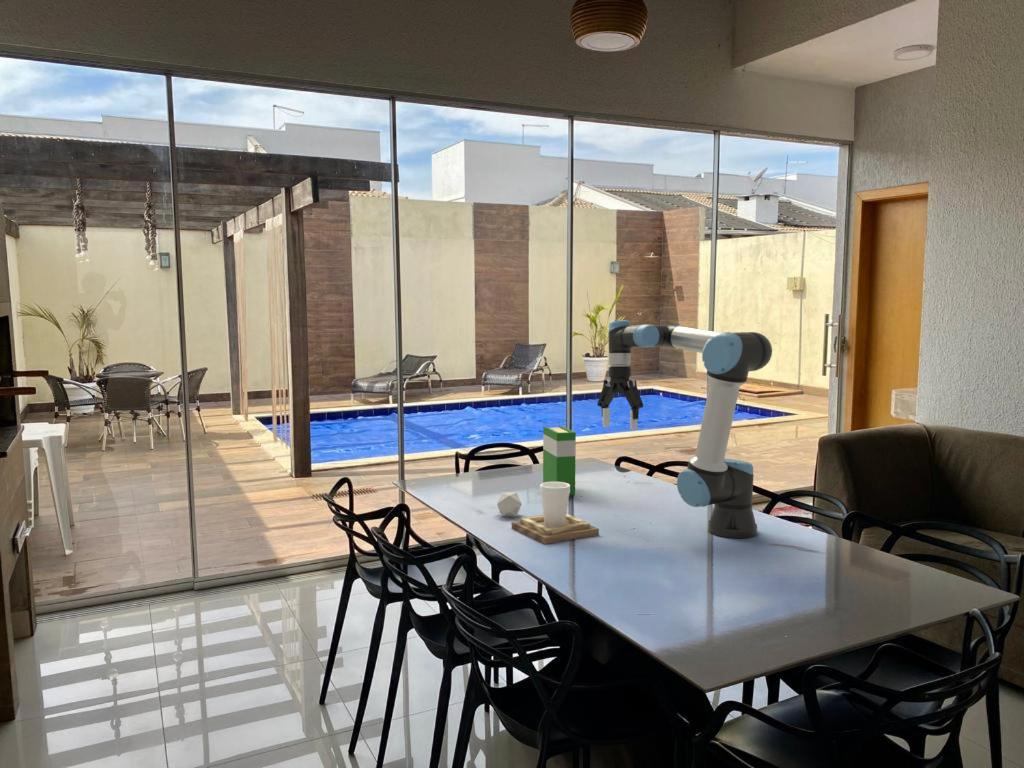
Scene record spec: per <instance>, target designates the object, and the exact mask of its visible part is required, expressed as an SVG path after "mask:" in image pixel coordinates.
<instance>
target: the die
mask: <svg viewBox="0 0 1024 768" xmlns="http://www.w3.org/2000/svg"><path fill="white" fill-rule="evenodd" d="M496 506H497V508H498V510H499V514H500V515H501V517H502V518H503V517H505V518H506V517H507V518H509V517H511V518H513V517H514V518H516V517H518V515H519V511H520V509H521V507H522V502H521V499H520V496H519V494H518V493H517V492H501V493H500V496H499V498H498V501H497V504H496Z"/></svg>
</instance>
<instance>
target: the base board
mask: <svg viewBox="0 0 1024 768" xmlns="http://www.w3.org/2000/svg"><path fill="white" fill-rule="evenodd" d="M511 529H512V530H515V531H517V532H519V533H520V534H523V535H525V536H527V537H529V538H530V539H531V538H532V539H534V540H535V541H538V542H539V543H542V544H543V545H547V544H553V543H558V542H559V543H560V542H565V541H571V540H575V539H576V540H577V539H582V538H588V537H594V536H599V535H600V528H598V527H596V526H594V525H591V522H587V521H586V520H583V519H581V518H578V517H575V516H573V515H571V514H568V513H567V514H566V521H565V525H563V526H557V527H551V528H550V527H547V526H545V523H544V515H543V514H539V515H532V516H525V517H520V518H519V520H515V521H511Z"/></svg>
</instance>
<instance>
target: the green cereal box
mask: <svg viewBox="0 0 1024 768" xmlns="http://www.w3.org/2000/svg"><path fill="white" fill-rule="evenodd" d="M542 427H543V429H542V431H543V435H542V440H543V441H542V443H543V444H542V446H543V447H542V449H543V450H542V451H543V452H542V454H543V455H542V457H543V458H542V483H545V482H564V483H568V484H569V485H570V493H569V496H575V495H576V449H577V448H576V446H577V445H576V441H577V439H576V438H577V437H576V435H577V434H576V433H577V432H576V431H574V430H572V429H569V428H567V427H565V426H563V425H559V426H558V427H548V426H545V425H544V426H542Z"/></svg>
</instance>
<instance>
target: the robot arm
mask: <svg viewBox="0 0 1024 768" xmlns="http://www.w3.org/2000/svg"><path fill="white" fill-rule="evenodd" d="M607 334H608V365H609V367H608V377H609V378H610V379H604V380H603V384H602V388H601V392H600V395H599V397H598V400H597V404H596V405H597V406H598V407H600V408H601V418H602V428H610V427H611V408H610V404H611V403H612V401H613V400H614V397H615V396H616V395H617V394H622V395H623V396H624V397H625V399H626V401H627V403H628V404H629V406H630V407H631V408H630V410H629V430H638V424H639V423H638V422H639V421H638V419H639V414H640V413H639V410H640V409H643V408H644V404H643V400H642V397H641V394H640V391H639V389H638V386H637V385H638V384H637V379H630V377H631V376H632V375H631V374H632V369H631V366H630V365H631V362H632V360H631V357H632V354H631V353H632V351H631V350H632V349H640V348H641V349H648V348H649V349H650V348H660V347H661V348H671V349H678V350H683V351H684V350H685V351H689V352H696V353H699V354H700V353H701V360H702V362H703V366H704V368H705V369H706V376H707V377H708V379H709V385H708V391H707V396H706V400H705V401H706V402H705V404H704V405H705V407H704V411H703V416H702V419H701V425H700V430H699V435H698V440H697V444H696V450H695V454H694V455H692V456H691V457H689V459H688V464H687V468H686V469H683V470H682V471H680V472H679V473H678V476H677V479H676V487H677V488H676V489H677V491H678V494H679V495H680V498H681V499H682V501H683V502H684V503H686V504H687V505H688V506H691V507H693V508H698V507H707V506H711V505H713V509H712V512H711V515H710V518H709V520H708V522H707V531H708V532H709V533H710V534H713V535H715V536H718V537H723V538H733V539H744V538H745V539H747V538H752V537H755V536H756V535H758V524H757V523H756V518H755V516H754V515H755V514H754V512H753V499H754V498H753V496H754V495H753V491H754V475H755V474H754V466H753V465H752V463H751V462H748V461H747V460H746V461H744V460H740V459H732V458H726V453H727V448H728V444H729V443H728V442H729V438H730V434H731V429H732V425H733V421H734V417H735V416H734V415H735V410H736V406H737V403H738V396H739V392H740V388H741V386H743V385H745V384H746V383H747V381H748V376H749V372H755V371H760V370H761V369H763V368H764V367H765V366H767V364H769V363H770V361H771V358H772V356H773V347H772V344H771V342H770V340H769V338H768V337H767V336H765V335H763V334H761V333H759V332H755V331H748V332H742V331H741V332H740V331H739V332H730V331H726V332H721V331H714V330H707V329H702V328H701V329H699V328H695V327H694V328H693V327H687V326H682V325H680V324H675V323H674V324H673V323H671V324H670V323H669V324H648V323H647V324H646V323H645V324H637V325H631V321H630V320H625V319H624V320H622V319H621V320H620V319H619V320H610V322H609V324H608V332H607Z"/></svg>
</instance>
